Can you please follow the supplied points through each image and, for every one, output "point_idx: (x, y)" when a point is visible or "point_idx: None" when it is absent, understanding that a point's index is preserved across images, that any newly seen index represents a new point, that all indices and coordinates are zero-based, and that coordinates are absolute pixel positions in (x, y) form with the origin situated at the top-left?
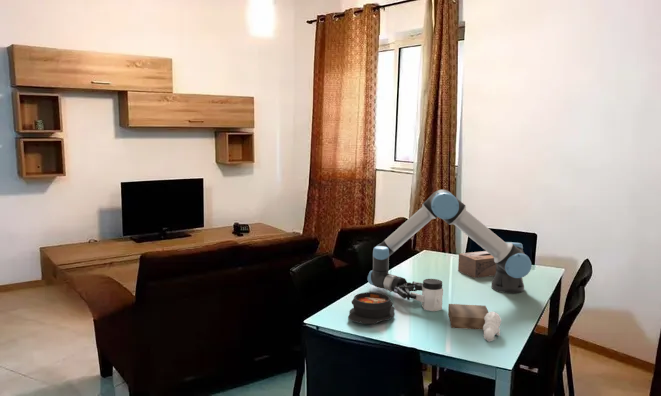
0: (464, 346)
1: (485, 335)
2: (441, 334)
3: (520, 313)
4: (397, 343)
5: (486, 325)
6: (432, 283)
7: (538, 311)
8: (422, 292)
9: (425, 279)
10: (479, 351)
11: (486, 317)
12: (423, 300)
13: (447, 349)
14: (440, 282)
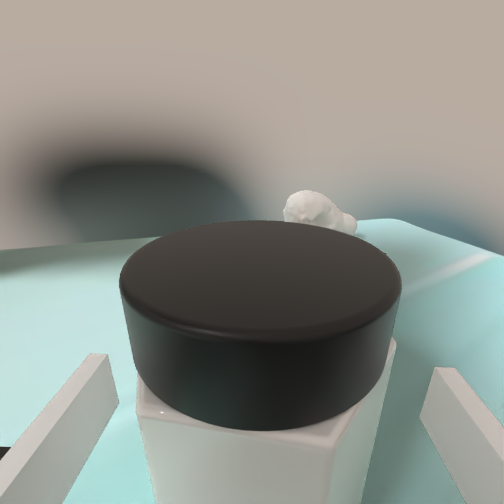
0: (422, 250)
1: (356, 227)
2: (452, 289)
3: (102, 254)
4: None
5: (340, 214)
6: (332, 235)
7: (65, 244)
8: (334, 502)
9: (267, 324)
10: (401, 237)
11: (326, 203)
12: (422, 407)
13: (481, 257)
14: (234, 223)
